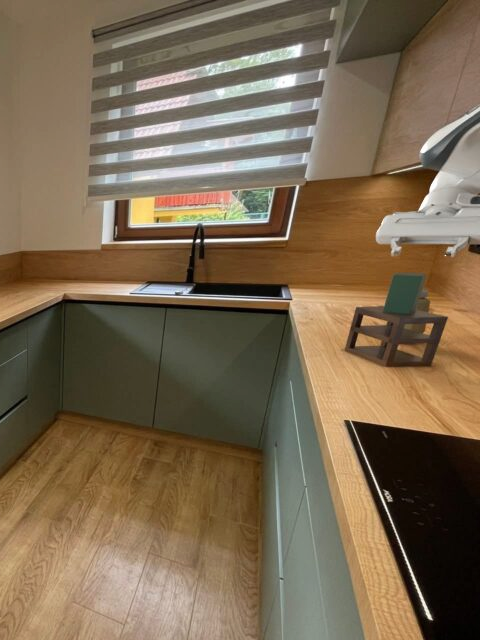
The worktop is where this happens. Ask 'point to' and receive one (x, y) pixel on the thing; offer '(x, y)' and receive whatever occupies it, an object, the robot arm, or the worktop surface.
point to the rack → (395, 336)
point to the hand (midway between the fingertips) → (421, 255)
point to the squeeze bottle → (421, 306)
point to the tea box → (404, 293)
